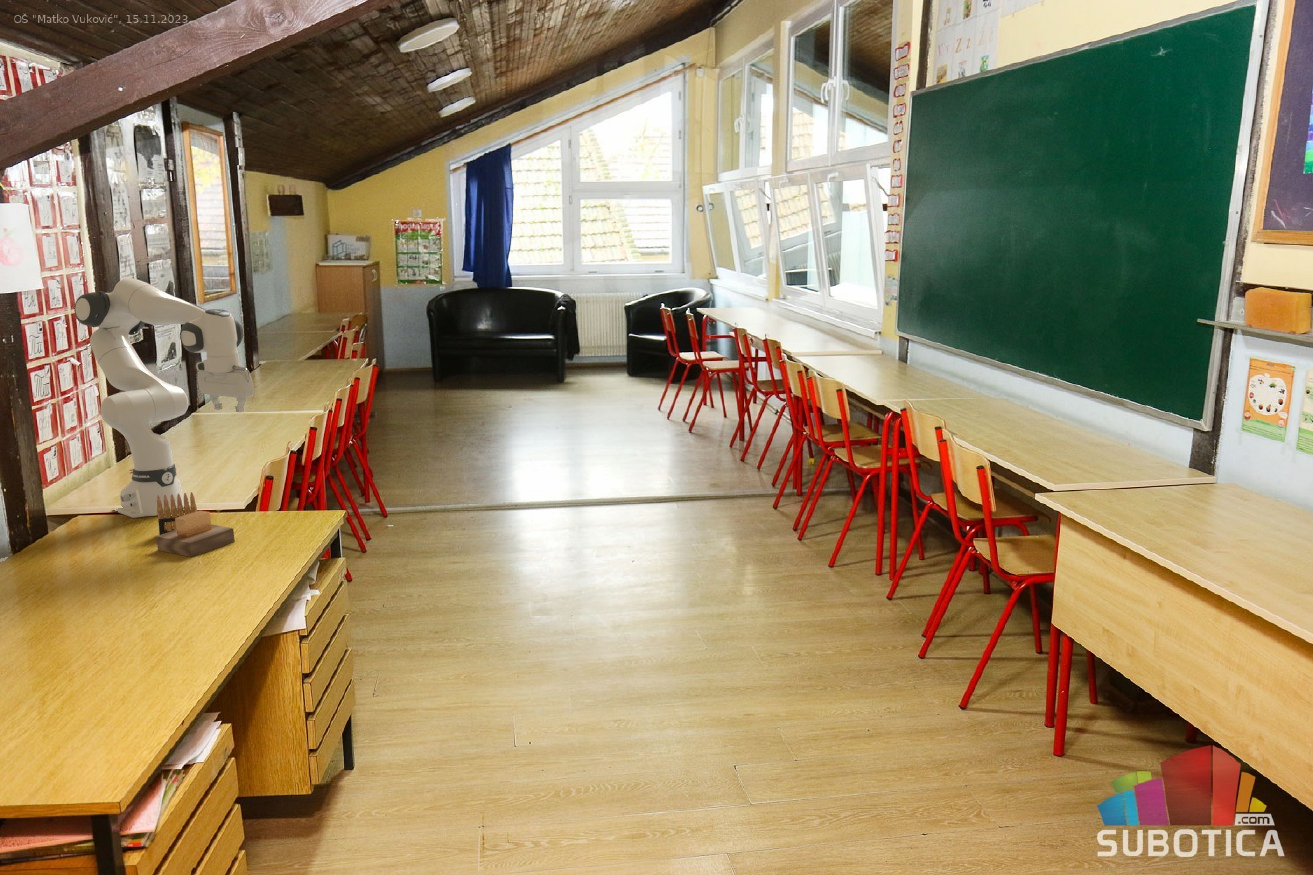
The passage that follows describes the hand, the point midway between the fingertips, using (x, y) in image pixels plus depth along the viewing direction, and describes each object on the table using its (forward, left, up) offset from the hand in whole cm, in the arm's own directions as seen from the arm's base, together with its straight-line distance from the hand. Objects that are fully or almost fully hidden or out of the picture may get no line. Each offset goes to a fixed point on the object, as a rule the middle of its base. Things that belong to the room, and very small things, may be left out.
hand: (229, 410), depth 288 cm
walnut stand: (+10, -24, -34) cm, 42 cm away
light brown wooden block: (+10, -24, -30) cm, 39 cm away
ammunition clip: (-5, -18, -34) cm, 39 cm away
